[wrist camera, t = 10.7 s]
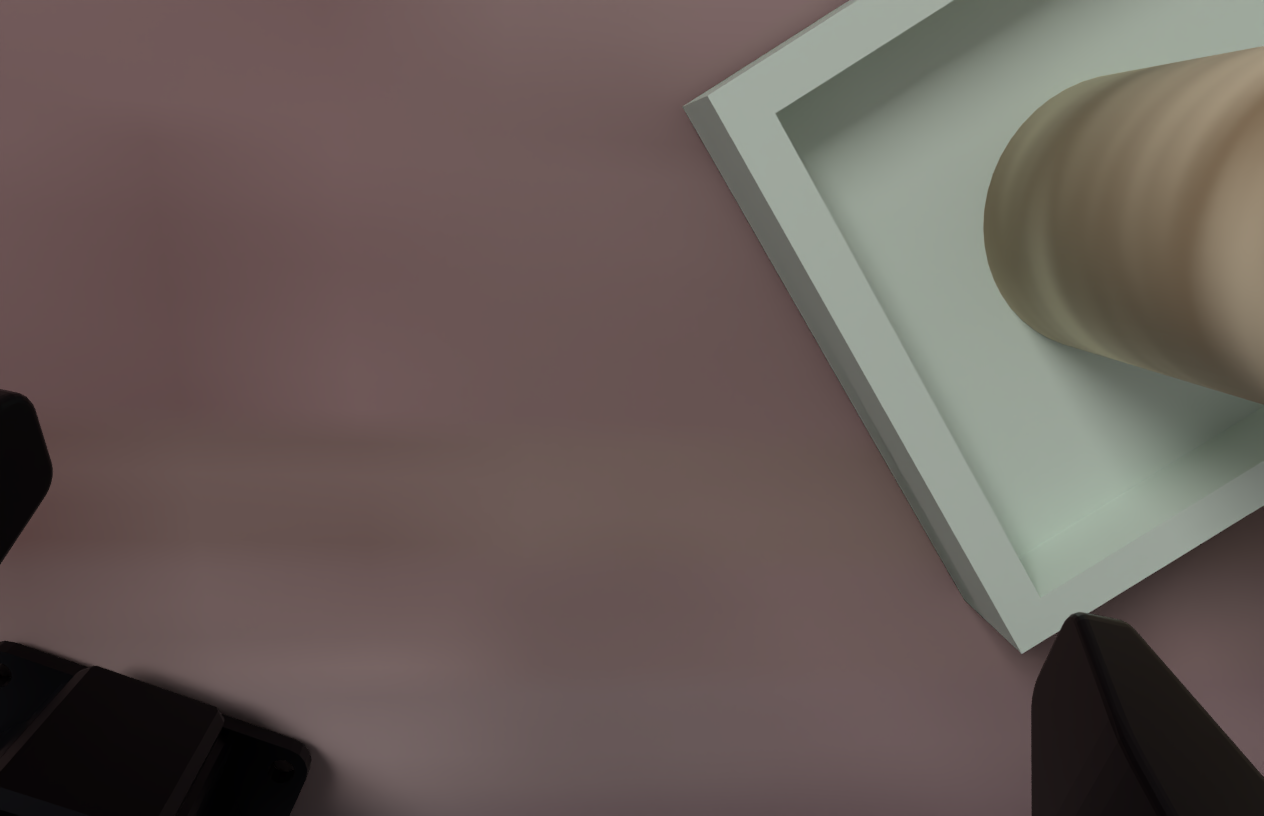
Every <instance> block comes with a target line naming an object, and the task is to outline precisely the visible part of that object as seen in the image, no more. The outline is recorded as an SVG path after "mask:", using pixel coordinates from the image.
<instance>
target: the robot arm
mask: <svg viewBox="0 0 1264 816" xmlns="http://www.w3.org/2000/svg"><path fill="white" fill-rule="evenodd" d="M52 476H53V467H52V462H51V459H50V456H49V453H48V449H47V446H46V443H45V440H44V436H43V433H42V430H41V427H40V423H39V420H38V417H37V414H36V410H35V408H34V406H33V404H32V403H31V401H30V400H29V399H28V398H27V397H26V396H24V395H22V394H20V393H17V392H12V391H7V390H2V389H0V564H1V562H2V561H3V559H4V558H5V556H6V555H7V553H8V552H9V550H10V549H11V547H12V546H13V544H14V543H15V541H16V540H17V538H18V537H19V535H20V534H21V532H22V531H23V529H24V528H25V526H26V525H27V523H28V522H29V520H30V519H31V517H32V516H33V514H34V513H35V511H36V509H37V508H38V506H39V505H40V503H41V502H42V500H43V499H44V497H45V496H46V494H47V492H48V490H49V487H50V485H51V481H52ZM0 663H2V664H4V665H5V666H7V667H8V668H9V670H10V671H11V673H12V676H11V678H9V677H3V676H1V675H0V816H290V813H291V811H292V809H293V807H294V804H295V802H296V800H297V798H298V796H299V793H300V791H301V789H302V787H303V784H304V782H305V780H306V777H307V774H308V772H309V769H310V764H311V756H310V752H309V750H308V749H307V748H306V747H305V745H304V744H302V743H301V742H299V741H297V740H295V739H293V738H290V737H287V736H284V735H281V734H278V733H275V732H272V731H270V730H267V729H264V728H261V727H258V726H255V725H252V724H249V723H246V722H244V721H241V720H238V719H235V718H232V717H229V716H226V715H223V714H221V713H220V712H219V710H218V709H217V708H216V707H214V706H211V705H208V704H205V703H202V702H200V701H197V700H194V699H191V698H188V697H185V696H182V695H179V694H177V693H174V692H171V691H168V690H165V689H162V688H159V687H156V686H153V685H151V684H148V683H145V682H142V681H139V680H136V679H133V678H130V677H128V676H125V675H122V674H119V673H116V672H113V671H110V670H107V669H105V668H102V667H99V666H92V667H89V668H88V667H85V666H82V665H79V664H76V663H73V662H70V661H67V660H65V659H62V658H59V657H56V656H53V655H50V654H47V653H44V652H42V651H39V650H36V649H33V648H30V647H27V646H24V645H21V644H18V643H15V642H9V641H2V642H0ZM277 760H286V761H288V762H289V763H291V764H292V766H293V767H294V770H291V771H288V772H285V771H280V770H278V769H277V768H275V766H274V764H273V762H275V761H277ZM1031 763H1032V816H1264V777H1263V776H1262V775H1261V773H1260V772H1259V771H1258V770H1257V769H1256V768H1255V767H1254V765H1253V764H1252V763H1251V762H1250V761H1249V760H1248V759H1247V757H1246V756H1245V755H1244V754H1243V753H1242V752H1241V751H1240V749H1239V748H1238V747H1237V746H1236V745H1235V744H1234V742H1233V741H1232V740H1231V739H1230V738H1229V737H1228V736H1227V734H1226V733H1225V732H1224V731H1223V730H1222V729H1221V728H1220V726H1219V725H1218V724H1217V723H1216V722H1215V721H1214V720H1213V718H1212V717H1211V716H1210V715H1209V714H1208V713H1207V712H1206V710H1205V709H1204V708H1203V707H1202V706H1201V705H1200V704H1199V702H1198V701H1197V700H1196V699H1195V698H1194V697H1193V696H1192V694H1191V693H1190V692H1189V691H1188V690H1187V689H1186V687H1185V686H1184V685H1183V684H1182V683H1181V682H1180V681H1179V679H1178V678H1177V677H1176V676H1175V675H1174V674H1173V673H1172V671H1171V670H1170V669H1169V668H1168V667H1167V666H1166V665H1165V663H1164V662H1163V661H1162V660H1161V659H1160V658H1159V657H1158V655H1157V654H1156V653H1155V652H1154V651H1153V650H1152V649H1151V647H1150V646H1149V645H1148V644H1147V643H1146V642H1145V641H1144V639H1143V638H1142V637H1141V636H1140V635H1139V634H1138V633H1137V631H1136V630H1135V629H1134V628H1133V627H1132V626H1130V625H1129V624H1128V623H1126V622H1124V621H1121V620H1118V619H1113V618H1108V617H1103V616H1098V615H1093V614H1089V613H1084V612H1077V613H1073V614H1071V615H1070V616H1069V617H1068V618H1067V619H1066V620H1065V621H1064V623H1063V625H1062V627H1061V629H1060V631H1059V633H1058V635H1057V638H1056V640H1055V642H1054V644H1053V646H1052V648H1051V650H1050V652H1049V654H1048V657H1047V659H1046V661H1045V663H1044V665H1043V667H1042V669H1041V671H1040V674H1039V676H1038V678H1037V680H1036V683H1035V687H1034V691H1033V696H1032V705H1031Z"/></svg>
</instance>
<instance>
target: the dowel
mask: <svg viewBox="0 0 1264 816" xmlns="http://www.w3.org/2000/svg"><path fill="white" fill-rule="evenodd" d="M983 232H984V245H985V251H986V256H987V261H988V265H989V268H990V270H991V273H992V276H993V279H994V281H995V283H996V285H997V287H998V289H999V291H1000V293H1001V295H1002V296H1003V298H1004V299H1005V301H1006V302H1007V304H1008V305H1009V306H1010V308H1011V309H1012V310H1013V311H1014V312H1015V313H1016V314H1017V315H1018V317H1019V318H1020V319H1021V320H1022V321H1024V322H1025V323H1026V324H1027V325H1029V326H1030V327H1031V328H1032V329H1034V330H1035V331H1037V332H1038V333H1040V334H1042V335H1044V336H1045V337H1047V338H1049V339H1051V340H1054V341H1056V342H1059V343H1061V344H1064V345H1067V346H1071V347H1074V348H1077V349H1081V350H1084V351H1087V352H1091V353H1094V354H1097V355H1101V356H1104V357H1107V358H1110V359H1114V360H1117V361H1120V362H1124V363H1127V364H1130V365H1134V366H1137V367H1140V368H1144V369H1147V370H1150V371H1154V372H1157V373H1160V374H1163V375H1167V376H1170V377H1173V378H1177V379H1180V380H1183V381H1187V382H1190V383H1193V384H1197V385H1200V386H1203V387H1207V388H1210V389H1213V390H1217V391H1220V392H1223V393H1226V394H1230V395H1233V396H1236V397H1240V398H1243V399H1246V400H1250V401H1253V402H1256V403H1260V404H1263V405H1264V46H1261V47H1255V48H1250V49H1245V50H1239V51H1234V52H1228V53H1223V54H1218V55H1212V56H1207V57H1202V58H1196V59H1191V60H1186V61H1180V62H1175V63H1169V64H1164V65H1159V66H1153V67H1148V68H1143V69H1137V70H1132V71H1126V72H1121V73H1116V74H1110V75H1105V76H1100V77H1096V78H1093V79H1090V80H1086V81H1083V82H1080V83H1078V84H1076V85H1074V86H1072V87H1069V88H1067V89H1065V90H1064V91H1062V92H1060V93H1059V94H1057V95H1056V96H1054V97H1052V98H1051V99H1049V100H1048V101H1047V102H1045V103H1044V104H1043V105H1042V106H1041V107H1039V108H1038V109H1037V110H1036V111H1034V113H1033V114H1032V115H1031V116H1030V117H1029V118H1028V119H1027V120H1026V121H1025V122H1024V123H1023V124H1022V125H1021V126H1020V128H1019V129H1018V130H1017V132H1016V133H1015V134H1014V136H1013V137H1012V138H1011V140H1010V141H1009V143H1008V145H1007V146H1006V148H1005V150H1004V151H1003V153H1002V155H1001V157H1000V159H999V161H998V163H997V166H996V168H995V170H994V173H993V175H992V179H991V182H990V185H989V188H988V192H987V197H986V203H985V209H984V224H983Z"/></svg>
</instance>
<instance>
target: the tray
mask: <svg viewBox="0 0 1264 816" xmlns="http://www.w3.org/2000/svg"><path fill="white" fill-rule="evenodd" d="M1261 46H1264V0H849V1H848V2H846V3H845V4H843V5H841V6H840V7H838V8H837V9H835V10H834V11H832V12H830V13H829V14H827V15H826V16H824V17H823V18H821V19H819V20H818V21H816V22H815V23H813V24H812V25H810V26H808V27H807V28H805V29H804V30H802V31H801V32H799V33H797V34H796V35H794V36H793V37H791V38H790V39H788V40H786V41H785V42H783V43H782V44H780V45H779V46H777V47H775V48H774V49H772V50H771V51H769V52H768V53H766V54H764V55H763V56H761V57H760V58H758V59H757V60H755V61H753V62H752V63H750V64H749V65H747V66H746V67H744V68H742V69H741V70H739V71H738V72H736V73H735V74H733V75H731V76H730V77H728V78H727V79H725V80H724V81H722V82H720V83H719V84H717V85H716V86H714V87H713V88H711V89H709V90H708V91H706V92H705V93H703V94H702V95H700V96H698V97H697V98H695V99H694V100H692V101H691V102H689V103H687V104H686V105H684V106H683V109H684V110H685V112H686V114H687V116H688V117H689V119H690V121H691V123H692V124H693V126H694V128H695V130H696V131H697V133H698V135H699V137H700V138H701V140H702V142H703V144H704V145H705V147H706V149H707V151H708V152H709V154H710V156H711V158H712V159H713V161H714V163H715V165H716V166H717V168H718V170H719V172H720V173H721V175H722V177H723V179H724V180H725V182H726V184H727V186H728V187H729V189H730V191H731V193H732V194H733V196H734V198H735V200H736V201H737V203H738V205H739V207H740V208H741V210H742V212H743V214H744V215H745V217H746V219H747V221H748V222H749V224H750V226H751V228H752V229H753V231H754V233H755V235H756V236H757V238H758V240H759V242H760V243H761V245H762V247H763V249H764V250H765V252H766V254H767V256H768V257H769V259H770V261H771V263H772V264H773V266H774V268H775V270H776V271H777V273H778V275H779V277H780V278H781V280H782V282H783V284H784V285H785V287H786V289H787V291H788V292H789V294H790V296H791V298H792V299H793V301H794V303H795V305H796V306H797V308H798V310H799V312H800V313H801V315H802V317H803V319H804V320H805V322H806V324H807V326H808V327H809V329H810V331H811V333H812V334H813V336H814V338H815V340H816V341H817V343H818V345H819V347H820V348H821V350H822V352H823V354H824V355H825V357H826V359H827V361H828V362H829V364H830V366H831V368H832V369H833V371H834V373H835V375H836V376H837V378H838V380H839V382H840V383H841V385H842V387H843V389H844V390H845V392H846V394H847V396H848V397H849V399H850V401H851V403H852V404H853V406H854V408H855V410H856V411H857V413H858V415H859V417H860V418H861V420H862V422H863V424H864V425H865V427H866V429H867V431H868V432H869V434H870V436H871V438H872V439H873V441H874V443H875V445H876V446H877V448H878V450H879V452H880V453H881V455H882V457H883V459H884V460H885V462H886V464H887V466H888V467H889V469H890V471H891V473H892V474H893V476H894V478H895V480H896V481H897V483H898V485H899V487H900V488H901V490H902V492H903V494H904V495H905V497H906V499H907V501H908V502H909V504H910V506H911V508H912V509H913V511H914V513H915V515H916V516H917V518H918V520H919V522H920V523H921V525H922V527H923V529H924V530H925V532H926V534H927V536H928V537H929V539H930V541H931V543H932V544H933V546H934V548H935V550H936V551H937V553H938V555H939V557H940V558H941V560H942V562H943V564H944V565H945V567H946V569H947V571H948V572H949V574H950V576H951V578H952V579H953V581H954V583H955V585H956V586H957V588H958V590H959V592H960V593H961V595H962V597H963V599H964V600H965V601H966V602H967V603H968V604H969V605H970V606H971V607H973V608H974V609H975V610H976V611H977V612H978V613H979V614H980V615H981V616H982V617H983V618H984V619H985V620H986V621H987V622H988V623H989V624H991V625H992V626H993V627H994V628H995V629H996V630H997V631H998V632H999V633H1000V634H1001V635H1002V636H1003V637H1004V638H1005V639H1006V640H1008V641H1009V642H1010V643H1011V644H1012V645H1013V646H1014V647H1015V648H1016V649H1017V650H1018V651H1019V652H1020V653H1021V654H1022V653H1024V652H1026V651H1027V650H1029V649H1031V648H1032V647H1034V646H1036V645H1037V644H1039V643H1040V642H1042V641H1044V640H1045V639H1047V638H1049V637H1050V636H1052V635H1053V634H1055V633H1057V632H1058V631H1060V629H1061V627H1062V625H1063V623H1064V621H1065V620H1066V619H1067V618H1068V617H1069V616H1070V615H1071V614H1073V613H1077V612H1084V613H1089V612H1091V611H1093V610H1094V609H1096V608H1097V607H1099V606H1101V605H1102V604H1104V603H1106V602H1107V601H1109V600H1110V599H1112V598H1114V597H1115V596H1117V595H1119V594H1120V593H1122V592H1123V591H1125V590H1127V589H1128V588H1130V587H1132V586H1133V585H1135V584H1136V583H1138V582H1140V581H1141V580H1143V579H1145V578H1146V577H1148V576H1150V575H1151V574H1153V573H1154V572H1156V571H1158V570H1159V569H1161V568H1163V567H1164V566H1166V565H1167V564H1169V563H1171V562H1172V561H1174V560H1176V559H1177V558H1179V557H1180V556H1182V555H1184V554H1185V553H1187V552H1189V551H1190V550H1192V549H1193V548H1195V547H1197V546H1198V545H1200V544H1202V543H1203V542H1205V541H1207V540H1208V539H1210V538H1211V537H1213V536H1215V535H1216V534H1218V533H1220V532H1221V531H1223V530H1224V529H1226V528H1228V527H1229V526H1231V525H1233V524H1234V523H1236V522H1237V521H1239V520H1241V519H1242V518H1244V517H1246V516H1247V515H1249V514H1250V513H1252V512H1254V511H1255V510H1257V509H1259V508H1260V507H1262V506H1264V405H1263V404H1260V403H1256V402H1253V401H1250V400H1246V399H1243V398H1240V397H1236V396H1233V395H1230V394H1226V393H1223V392H1220V391H1217V390H1213V389H1210V388H1207V387H1203V386H1200V385H1197V384H1193V383H1190V382H1187V381H1183V380H1180V379H1177V378H1173V377H1170V376H1167V375H1163V374H1160V373H1157V372H1154V371H1150V370H1147V369H1144V368H1140V367H1137V366H1134V365H1130V364H1127V363H1124V362H1120V361H1117V360H1114V359H1110V358H1107V357H1104V356H1101V355H1097V354H1094V353H1091V352H1087V351H1084V350H1081V349H1077V348H1074V347H1071V346H1067V345H1064V344H1061V343H1059V342H1056V341H1054V340H1051V339H1049V338H1047V337H1045V336H1044V335H1042V334H1040V333H1038V332H1037V331H1035V330H1034V329H1032V328H1031V327H1030V326H1029V325H1027V324H1026V323H1025V322H1024V321H1022V320H1021V319H1020V318H1019V317H1018V315H1017V314H1016V313H1015V312H1014V311H1013V310H1012V309H1011V308H1010V306H1009V305H1008V304H1007V302H1006V301H1005V299H1004V298H1003V296H1002V295H1001V293H1000V291H999V289H998V287H997V285H996V283H995V281H994V279H993V276H992V273H991V270H990V268H989V265H988V261H987V256H986V251H985V245H984V232H983V224H984V209H985V203H986V197H987V192H988V188H989V185H990V182H991V179H992V175H993V173H994V170H995V168H996V166H997V163H998V161H999V159H1000V157H1001V155H1002V153H1003V151H1004V150H1005V148H1006V146H1007V145H1008V143H1009V141H1010V140H1011V138H1012V137H1013V136H1014V134H1015V133H1016V132H1017V130H1018V129H1019V128H1020V126H1021V125H1022V124H1023V123H1024V122H1025V121H1026V120H1027V119H1028V118H1029V117H1030V116H1031V115H1032V114H1033V113H1034V111H1036V110H1037V109H1038V108H1039V107H1041V106H1042V105H1043V104H1044V103H1045V102H1047V101H1048V100H1049V99H1051V98H1052V97H1054V96H1056V95H1057V94H1059V93H1060V92H1062V91H1064V90H1065V89H1067V88H1069V87H1072V86H1074V85H1076V84H1078V83H1080V82H1083V81H1086V80H1090V79H1093V78H1096V77H1100V76H1105V75H1110V74H1116V73H1121V72H1126V71H1132V70H1137V69H1143V68H1148V67H1153V66H1159V65H1164V64H1169V63H1175V62H1180V61H1186V60H1191V59H1196V58H1202V57H1207V56H1212V55H1218V54H1223V53H1228V52H1234V51H1239V50H1245V49H1250V48H1255V47H1261Z"/></svg>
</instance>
